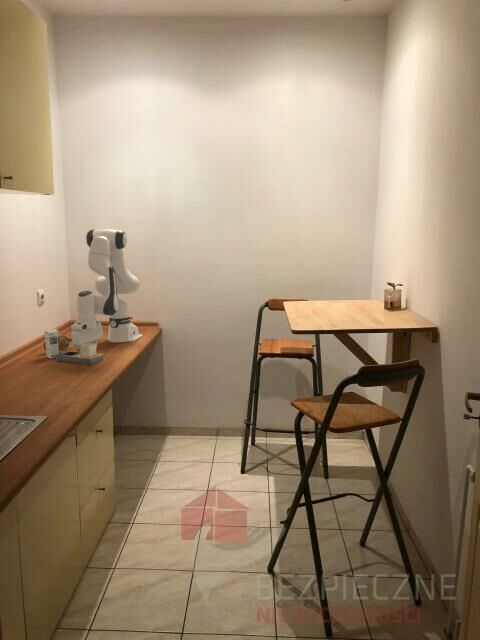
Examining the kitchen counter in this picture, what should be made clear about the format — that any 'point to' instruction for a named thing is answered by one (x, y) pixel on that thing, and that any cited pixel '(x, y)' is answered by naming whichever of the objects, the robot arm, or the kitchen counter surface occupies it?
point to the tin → (61, 343)
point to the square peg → (89, 350)
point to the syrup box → (52, 343)
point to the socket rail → (79, 358)
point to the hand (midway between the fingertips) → (88, 350)
